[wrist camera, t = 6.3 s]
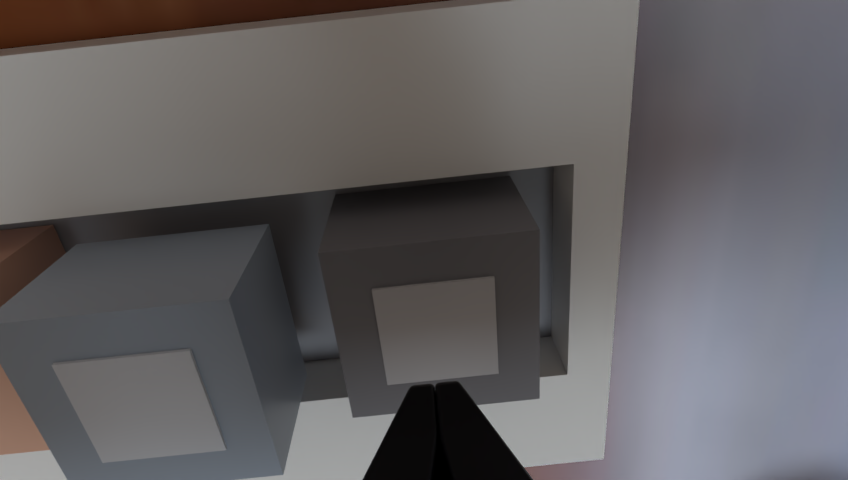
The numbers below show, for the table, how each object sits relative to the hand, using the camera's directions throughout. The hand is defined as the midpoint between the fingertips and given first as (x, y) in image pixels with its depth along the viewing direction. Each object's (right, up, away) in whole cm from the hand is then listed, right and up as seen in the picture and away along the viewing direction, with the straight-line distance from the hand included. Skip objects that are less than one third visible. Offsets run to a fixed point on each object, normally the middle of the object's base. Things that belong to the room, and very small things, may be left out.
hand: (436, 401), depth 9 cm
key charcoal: (0, +2, +4) cm, 5 cm away
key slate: (-5, +1, +3) cm, 6 cm away
